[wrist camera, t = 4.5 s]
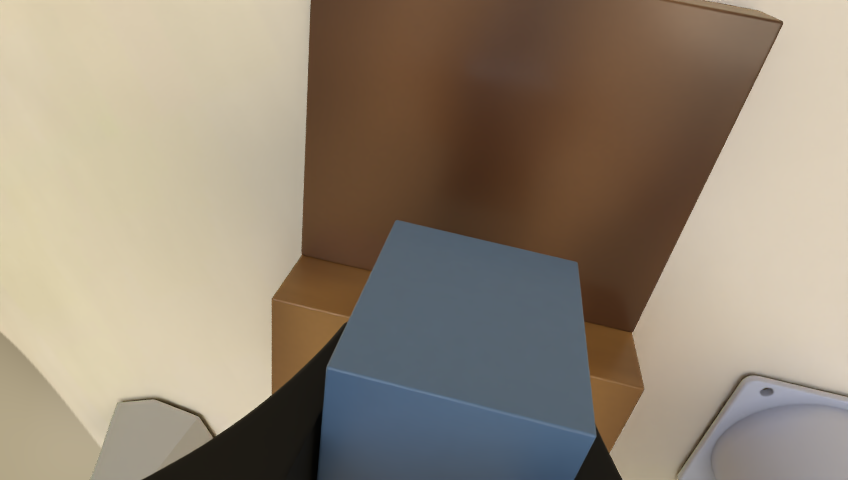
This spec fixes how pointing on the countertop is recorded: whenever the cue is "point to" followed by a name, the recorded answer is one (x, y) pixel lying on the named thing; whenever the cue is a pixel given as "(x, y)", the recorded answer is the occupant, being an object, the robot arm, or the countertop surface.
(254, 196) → the countertop surface
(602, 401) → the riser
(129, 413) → the flask
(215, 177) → the countertop surface
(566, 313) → the blue box
